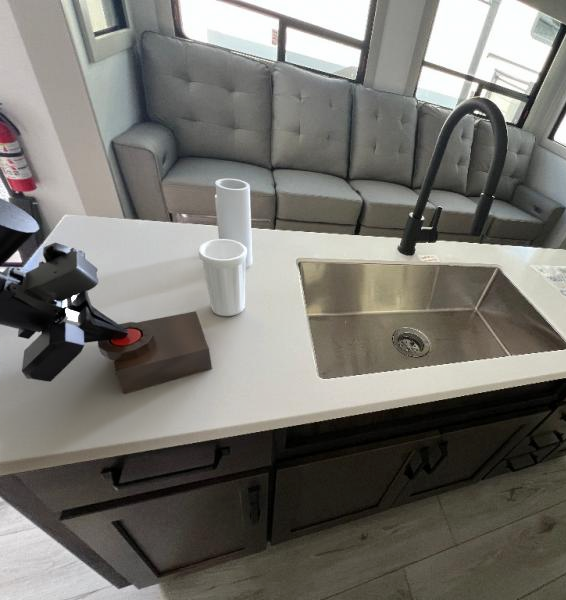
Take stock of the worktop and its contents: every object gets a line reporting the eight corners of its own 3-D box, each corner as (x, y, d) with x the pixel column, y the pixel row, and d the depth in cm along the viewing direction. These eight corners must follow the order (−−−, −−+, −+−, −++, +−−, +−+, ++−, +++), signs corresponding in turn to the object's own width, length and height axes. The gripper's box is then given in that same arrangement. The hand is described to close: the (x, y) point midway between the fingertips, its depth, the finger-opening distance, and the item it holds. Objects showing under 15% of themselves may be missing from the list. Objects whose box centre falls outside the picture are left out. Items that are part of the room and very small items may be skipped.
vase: (253, 268, 82) (251, 191, 70) (221, 269, 79) (212, 188, 67) (250, 245, 89) (247, 172, 78) (220, 245, 86) (212, 169, 75)
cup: (210, 295, 71) (202, 236, 63) (251, 296, 74) (248, 240, 65) (203, 320, 65) (193, 259, 57) (247, 320, 68) (244, 262, 59)
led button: (114, 356, 49) (111, 348, 48) (113, 340, 51) (109, 331, 50) (144, 349, 51) (142, 341, 50) (141, 334, 53) (139, 326, 52)
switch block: (113, 397, 49) (99, 366, 45) (109, 351, 55) (96, 320, 51) (212, 368, 57) (207, 340, 53) (199, 331, 63) (194, 303, 59)
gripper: (19, 289, 32) (175, 338, 44) (32, 205, 42) (155, 265, 55) (-63, 368, 32) (116, 395, 45) (-30, 265, 42) (107, 311, 55)
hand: (126, 334), depth 50 cm, fingers closed, pressing on led button
